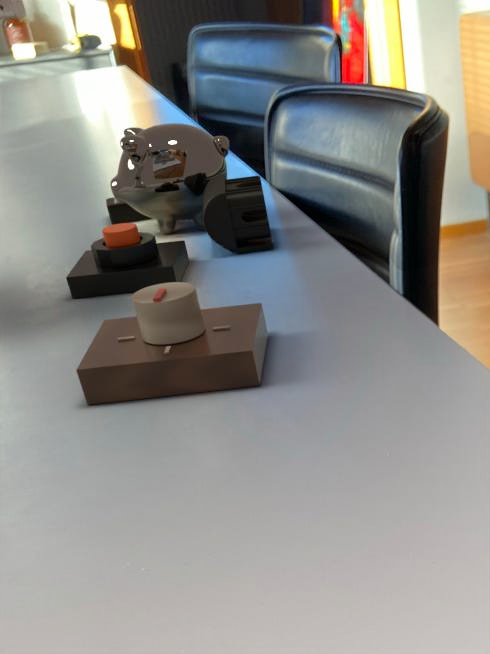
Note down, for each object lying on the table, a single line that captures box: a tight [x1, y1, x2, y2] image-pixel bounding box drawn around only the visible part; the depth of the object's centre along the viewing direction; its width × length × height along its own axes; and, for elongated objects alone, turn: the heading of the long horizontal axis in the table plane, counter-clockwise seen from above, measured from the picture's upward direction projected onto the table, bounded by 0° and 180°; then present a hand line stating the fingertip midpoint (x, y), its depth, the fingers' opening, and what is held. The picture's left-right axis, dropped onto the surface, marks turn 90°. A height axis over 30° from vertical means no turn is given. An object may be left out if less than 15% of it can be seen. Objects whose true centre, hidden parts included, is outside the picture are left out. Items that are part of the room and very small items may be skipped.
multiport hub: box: [105, 196, 152, 225], centre depth 133 cm, size 4×11×2 cm, turn 108°
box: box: [65, 231, 190, 299], centre depth 109 cm, size 11×10×4 cm
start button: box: [101, 222, 141, 247], centre depth 108 cm, size 4×4×2 cm
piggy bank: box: [110, 122, 230, 235], centre depth 124 cm, size 11×15×12 cm
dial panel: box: [75, 302, 269, 406], centre depth 87 cm, size 14×12×3 cm
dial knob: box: [131, 281, 205, 345], centre depth 85 cm, size 5×5×4 cm
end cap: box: [203, 173, 274, 254], centre depth 117 cm, size 10×7×7 cm
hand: (8, 18), depth 90 cm, fingers closed
